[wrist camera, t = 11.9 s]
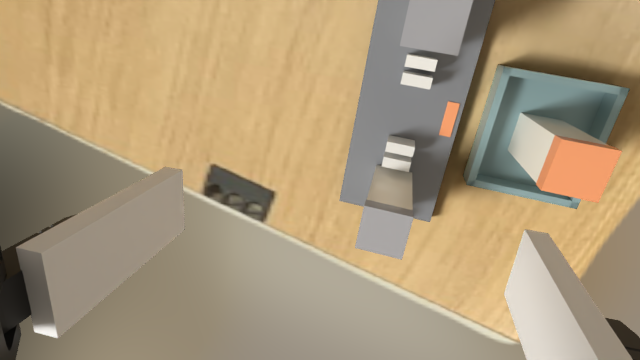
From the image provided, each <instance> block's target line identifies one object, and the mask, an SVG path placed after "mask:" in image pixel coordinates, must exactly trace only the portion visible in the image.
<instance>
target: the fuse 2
mask: <svg viewBox="0 0 640 360" xmlns="http://www.w3.org/2000/svg"><path fill="white" fill-rule="evenodd" d="M472 3H473V0H410V1H409V6H408V10H407V15H406V19H405V24H404V28H403V33H402V38H401V42H400V46H403V47H409V48H415V49H421V50H426V51H432V52H438V53H444V54H449V55H455V56H458V54H459V50H460V46H461V43H462V39H463V36H464V32H465V28H466V25H467V21H468V17H469V14H470V10H471V7H472Z"/></svg>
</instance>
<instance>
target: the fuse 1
mask: <svg viewBox="0 0 640 360" xmlns="http://www.w3.org/2000/svg"><path fill="white" fill-rule="evenodd" d="M412 221H413V205H412V173H411V172H405V171H400V170H396V169H391V168H386V167H382V166H380V165H376V168H375V172H374V175H373V179H372V183H371V186H370V190H369V193H368V197H367V199H366V201H365V205H364V209H363V214H362V218H361V223H360V227H359V232H358V236H357V241H356V245H355V248H358V249H362V250H366V251H370V252H374V253H378V254H382V255H386V256H390V257H393V258H397V259H401V260H402V257H403V254H404V250H405V246H406V243H407V239H408V235H409V232H410V228H411V224H412Z"/></svg>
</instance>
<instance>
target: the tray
mask: <svg viewBox="0 0 640 360" xmlns="http://www.w3.org/2000/svg"><path fill="white" fill-rule="evenodd" d="M629 90H630V88H625V87H621V86H616V85H611V84H605V83H600V82H594V81H588V80H583V79H577V78H571V77H565V76H560V75H554V74H548V73H542V72H537V71H531V70H525V69H520V68H514V67H508V66H502V65H498V66H497V69H496V72H495V76H494V79H493V82H492V85H491V88H490V92H489V95H488V98H487V101H486V104H485V108H484V111H483V114H482V117H481V120H480V123H479V127H478V130H477V133H476V136H475V139H474V143H473V146H472V149H471V152H470V155H469V159H468V162H467V165H466V168H465V171H464V174H463V177H464V179H465V182H466V185H470V186H474V187H479V188H484V189H488V190H493V191H497V192H502V193H506V194H511V195H515V196H520V197H525V198H529V199H534V200H538V201H543V202H547V203H552V204H556V205H561V206H565V207H570V208H575V209H577V207H578V205H579V203H580V201H581V199H578V198H574V197H569V196H564V195H560V194H555V193H551V192H546V191H541V190H540V189H539V187H538V186H537V185H536V182H535V181H534V180H533V179H532V178H531V176H530V175H529V174H528V173H527V172H526V171H525V170H524V168H523V167H522V166H521V165H520V164H519V163H518V162H517V160H516V159H515V158H514V157H513V156H512V155H511V153H510V152H509V151H508V147H509V144H510V141H511V138H512V136H513V133H514V130H515V127H516V124H517V121H518V118H519V115H520V113H526V114H532V115H537V116H542V117H547V118H553V119H558V120H563V121H564V122H566V123H568V124H570V125H572V126H574V127H576V128H577V129H579V130H581V131H583V132H585V133H587V134H589V135H591V136H592V137H594V138H596V139H598V140H600V141H602V142H604V143H605V144H606V142H607V140H608V137H609V135H610V133H611V130H612V128H613V126H614V124H615V121H616V119H617V117H618V115H619V112H620V110H621V108H622V106H623V103H624V101H625V99H626V97H627V94H628V92H629Z"/></svg>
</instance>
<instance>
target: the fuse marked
mask: <svg viewBox="0 0 640 360" xmlns="http://www.w3.org/2000/svg"><path fill="white" fill-rule="evenodd" d="M508 151H509V152H510V153H511V155H512V156H513V157H514V158H515V159H516V160H517V162H518V163H519V164H520V165H521V166H522V167H523V168H524V170H525V171H526V172H527V173H528V174H529V175H530V176H531V178H532V179H533V180H534V181H535V182H536V185H537V186H538V187H539V189H540V190H541V191H546V192H551V193H555V194H560V195H564V196H569V197H574V198H578V199H583V200H588V201H592V202H597V203H598V202H599V200H600V198H601V196H602V194H603V191H604V189H605V187H606V185H607V183H608V181H609V178H610V176H611V174H612V172H613V170H614V168H615V165H616V163H617V161H618V159H619V157H620V155H621V152H622V151H621V150H619V149H617V148H615V147H613V146H609V145H607V144H605V143H604V142H602V141H600V140H598V139H596V138H594V137H592V136H591V135H589V134H587V133H585V132H583V131H581V130H579V129H577V128H576V127H574V126H572V125H570V124H568V123H566V122H564V121H563V120H558V119H553V118H547V117H542V116H537V115H532V114H526V113H520V115H519V118H518V121H517V124H516V127H515V130H514V133H513V136H512V138H511V141H510V144H509V147H508Z"/></svg>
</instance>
